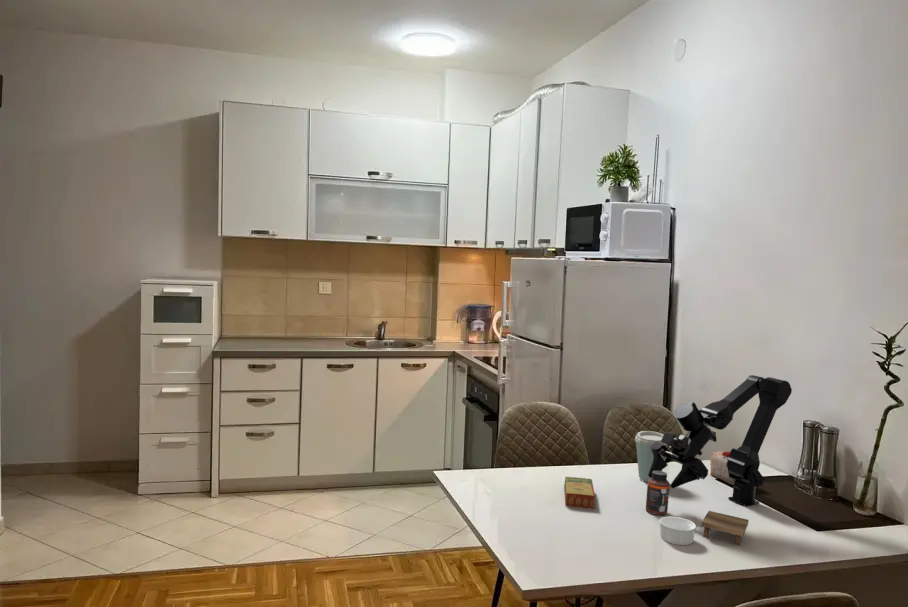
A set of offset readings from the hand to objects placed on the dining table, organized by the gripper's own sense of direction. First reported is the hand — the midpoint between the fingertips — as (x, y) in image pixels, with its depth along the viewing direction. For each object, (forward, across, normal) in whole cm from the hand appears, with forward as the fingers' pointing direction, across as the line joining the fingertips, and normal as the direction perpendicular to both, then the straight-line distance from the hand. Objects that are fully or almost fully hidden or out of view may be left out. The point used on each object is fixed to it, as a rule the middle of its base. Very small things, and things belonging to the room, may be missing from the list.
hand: (659, 481), depth 192 cm
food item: (-26, -18, +38) cm, 49 cm away
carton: (+18, -15, -5) cm, 24 cm away
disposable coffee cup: (-6, -24, +18) cm, 31 cm away
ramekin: (+12, +17, 0) cm, 21 cm away
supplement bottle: (+6, 0, +6) cm, 9 cm away
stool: (+2, +19, +10) cm, 22 cm away
